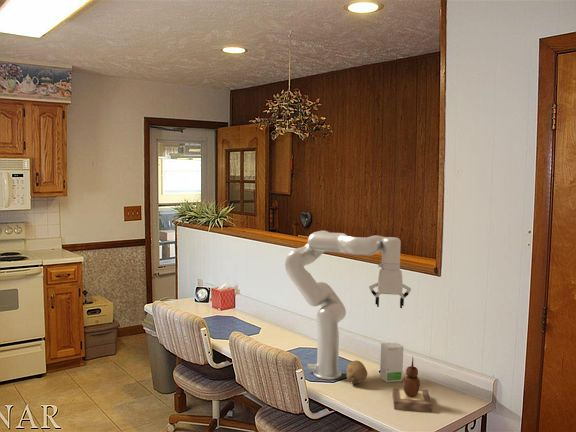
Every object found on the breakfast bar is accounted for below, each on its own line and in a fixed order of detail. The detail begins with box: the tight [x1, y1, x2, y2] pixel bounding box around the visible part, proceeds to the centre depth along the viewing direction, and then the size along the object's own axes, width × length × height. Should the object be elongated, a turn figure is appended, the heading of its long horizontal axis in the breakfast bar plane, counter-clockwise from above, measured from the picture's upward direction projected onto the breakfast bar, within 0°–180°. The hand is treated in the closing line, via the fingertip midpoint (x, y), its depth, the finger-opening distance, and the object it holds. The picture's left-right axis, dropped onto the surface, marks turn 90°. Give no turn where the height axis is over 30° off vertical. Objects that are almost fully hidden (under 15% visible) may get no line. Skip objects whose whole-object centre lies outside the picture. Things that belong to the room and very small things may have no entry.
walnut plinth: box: [392, 387, 433, 413], centre depth 215 cm, size 14×14×3 cm
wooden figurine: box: [402, 357, 421, 397], centre depth 214 cm, size 7×6×15 cm
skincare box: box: [379, 342, 404, 383], centre depth 239 cm, size 8×7×16 cm
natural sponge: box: [345, 360, 368, 385], centre depth 234 cm, size 9×9×10 cm
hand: (389, 306), depth 230 cm, fingers open, 9 cm apart
